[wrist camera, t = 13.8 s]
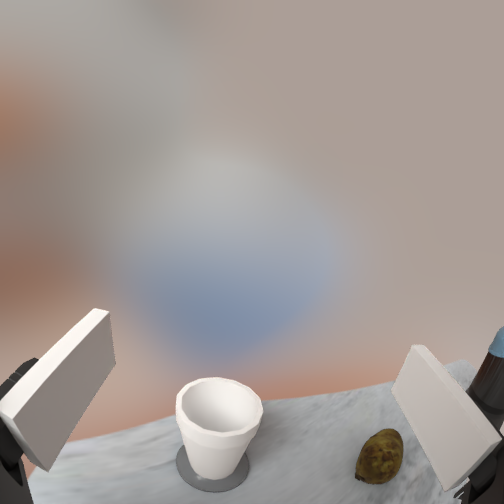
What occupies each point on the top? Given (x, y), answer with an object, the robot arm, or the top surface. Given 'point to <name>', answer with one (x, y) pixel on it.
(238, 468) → the coaster
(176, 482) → the top surface
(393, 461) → the potato
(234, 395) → the foam cup
